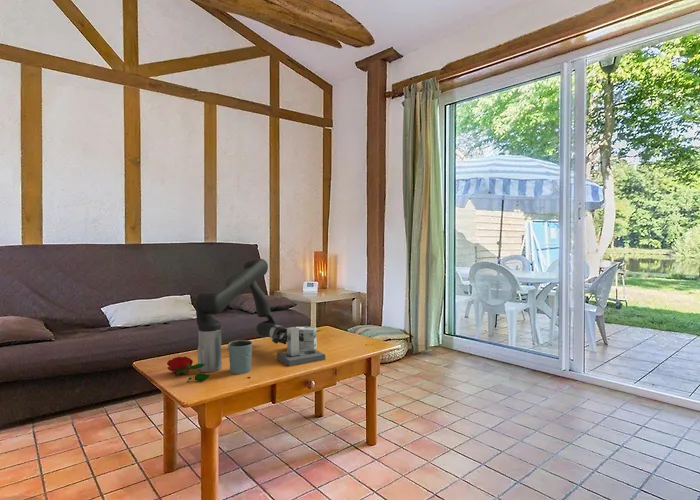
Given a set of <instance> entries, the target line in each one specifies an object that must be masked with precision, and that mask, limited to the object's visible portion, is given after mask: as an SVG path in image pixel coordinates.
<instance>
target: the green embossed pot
mask: <svg viewBox="0 0 700 500" xmlns="http://www.w3.org/2000/svg"><path fill="white" fill-rule="evenodd" d="M227 348H228V358H229V372H230V373H231V374H233V375H243V374H247V373H250V372H251V370H252V357H253V356H252V355H253V341H251V340H248V339H247V340H243V339H241V340H239V339H237V340H232V341H230V342H228V345H227Z"/></svg>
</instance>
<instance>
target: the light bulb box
mask: <svg viewBox="0 0 700 500" xmlns="http://www.w3.org/2000/svg"><path fill="white" fill-rule="evenodd" d="M295 327H296V328H299V333H302V334H304V335H303V337H304V341H303V342H301V341H299V350H300V349H306V348H313V349H315V350H317V347H318V346H317V326H295Z"/></svg>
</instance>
